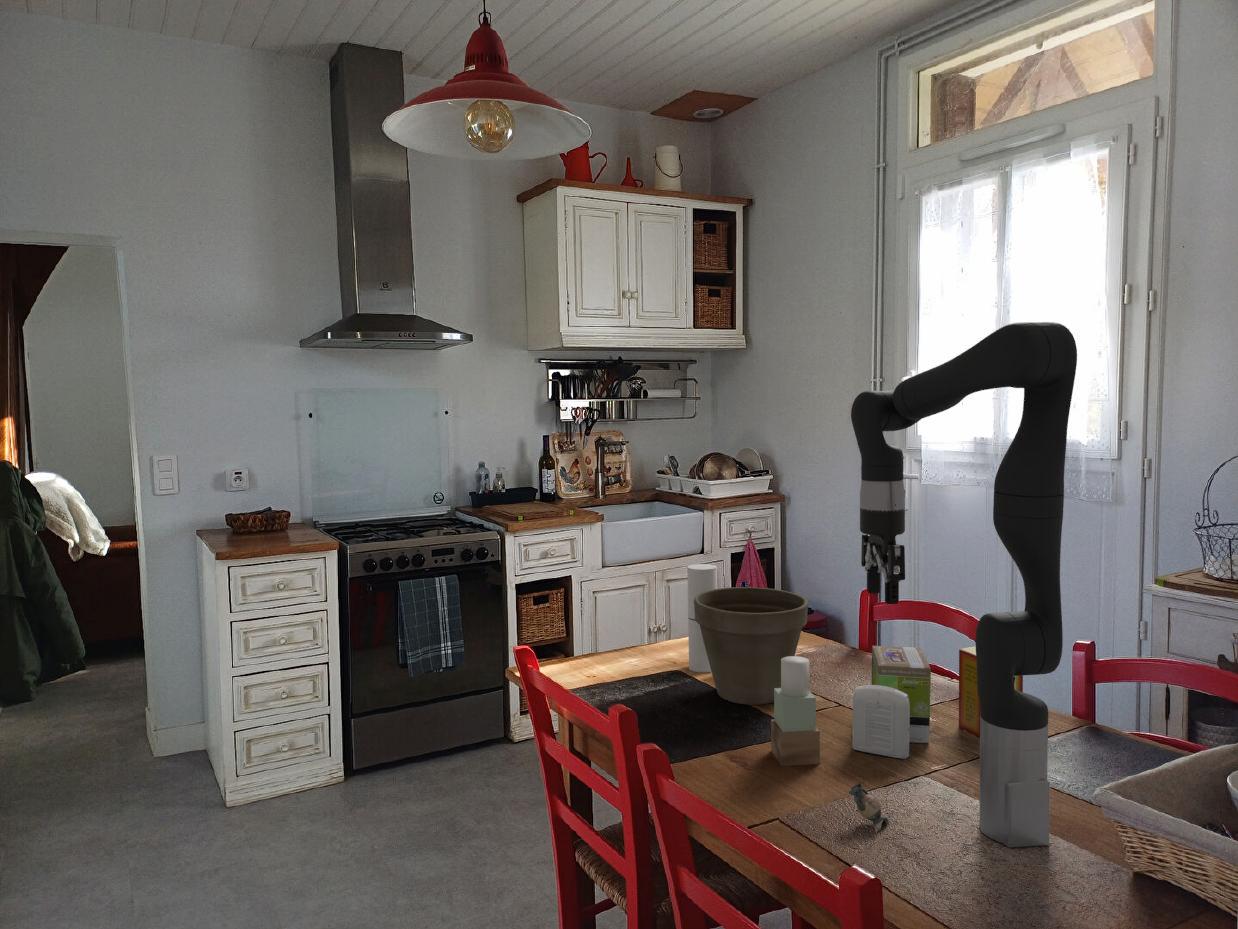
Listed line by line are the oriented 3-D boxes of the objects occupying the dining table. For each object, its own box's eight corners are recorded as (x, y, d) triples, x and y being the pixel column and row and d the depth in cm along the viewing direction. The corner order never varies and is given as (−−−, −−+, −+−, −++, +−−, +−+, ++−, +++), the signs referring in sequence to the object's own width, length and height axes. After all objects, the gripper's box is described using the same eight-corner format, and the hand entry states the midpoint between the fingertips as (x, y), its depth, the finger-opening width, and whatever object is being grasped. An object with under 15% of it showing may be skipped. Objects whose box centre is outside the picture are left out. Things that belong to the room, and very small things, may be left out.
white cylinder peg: (812, 697, 161) (812, 664, 160) (784, 697, 160) (784, 665, 160) (805, 687, 166) (805, 656, 165) (778, 688, 165) (778, 656, 165)
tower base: (819, 764, 161) (819, 731, 160) (781, 766, 160) (781, 733, 160) (808, 749, 168) (807, 717, 167) (771, 751, 167) (771, 719, 167)
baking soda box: (998, 721, 180) (999, 642, 178) (1022, 732, 173) (1023, 651, 172) (958, 727, 177) (959, 647, 176) (981, 738, 171) (981, 656, 170)
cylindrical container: (684, 665, 221) (683, 565, 220) (711, 662, 223) (709, 563, 222) (695, 673, 215) (694, 570, 213) (723, 670, 217) (721, 568, 215)
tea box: (931, 744, 168) (932, 667, 167) (876, 741, 170) (876, 665, 169) (921, 716, 183) (921, 645, 182) (870, 714, 185) (870, 643, 184)
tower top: (815, 730, 161) (815, 697, 160) (782, 732, 160) (782, 699, 160) (806, 718, 167) (806, 687, 166) (774, 720, 166) (774, 688, 166)
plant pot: (831, 704, 192) (831, 603, 190) (729, 721, 183) (728, 616, 181) (770, 672, 215) (769, 582, 213) (676, 686, 206) (675, 592, 204)
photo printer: (911, 753, 165) (912, 687, 164) (906, 761, 161) (907, 694, 160) (855, 743, 170) (855, 679, 169) (849, 751, 166) (849, 686, 165)
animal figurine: (841, 825, 137) (842, 786, 137) (856, 815, 142) (857, 777, 142) (875, 835, 134) (876, 795, 134) (890, 824, 138) (890, 785, 138)
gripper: (920, 510, 149) (920, 606, 150) (887, 500, 163) (887, 589, 164) (876, 511, 148) (876, 608, 150) (847, 502, 163) (847, 590, 164)
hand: (882, 598), depth 157 cm, fingers open, 8 cm apart
